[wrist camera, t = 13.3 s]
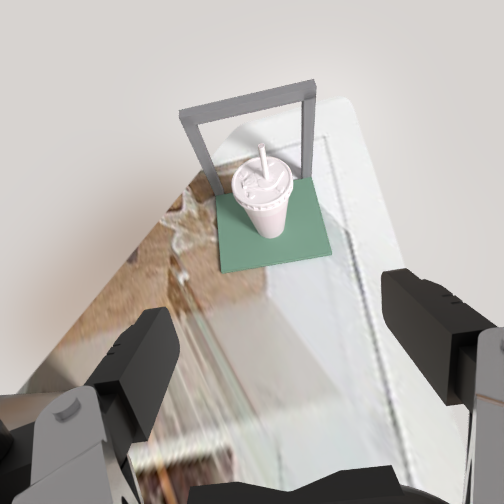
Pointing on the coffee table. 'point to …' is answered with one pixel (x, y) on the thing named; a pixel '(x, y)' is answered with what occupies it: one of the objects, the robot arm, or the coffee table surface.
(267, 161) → the smoothie
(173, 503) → the coffee table surface
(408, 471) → the coffee table surface
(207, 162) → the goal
